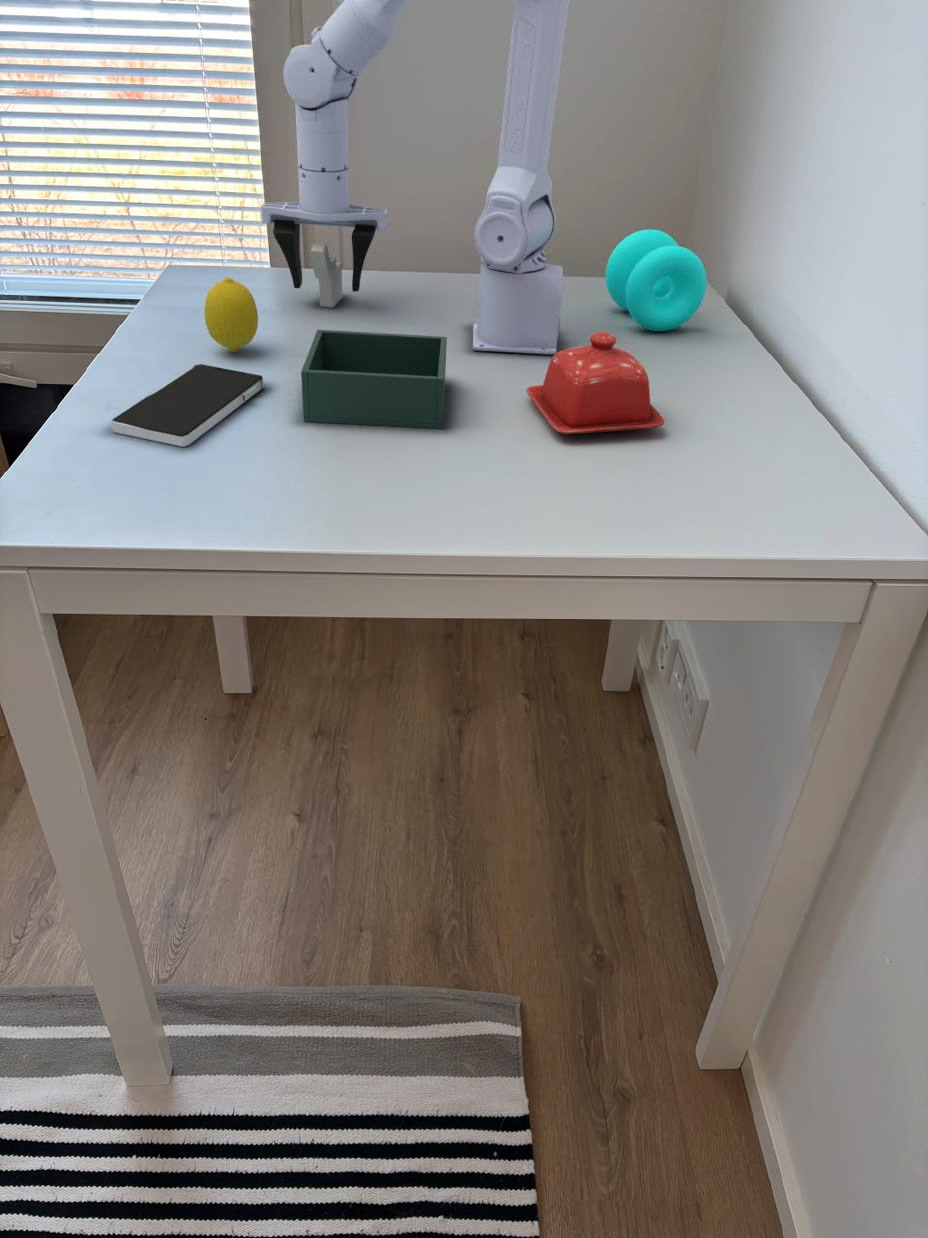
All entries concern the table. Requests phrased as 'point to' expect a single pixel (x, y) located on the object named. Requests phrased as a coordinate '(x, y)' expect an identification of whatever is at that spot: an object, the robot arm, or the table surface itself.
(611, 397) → the butter dish
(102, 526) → the table surface
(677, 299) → the turquoise yoyo
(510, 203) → the robot arm
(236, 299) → the lemon
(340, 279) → the grey stepped block
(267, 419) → the table surface
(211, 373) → the smartphone
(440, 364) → the bin
